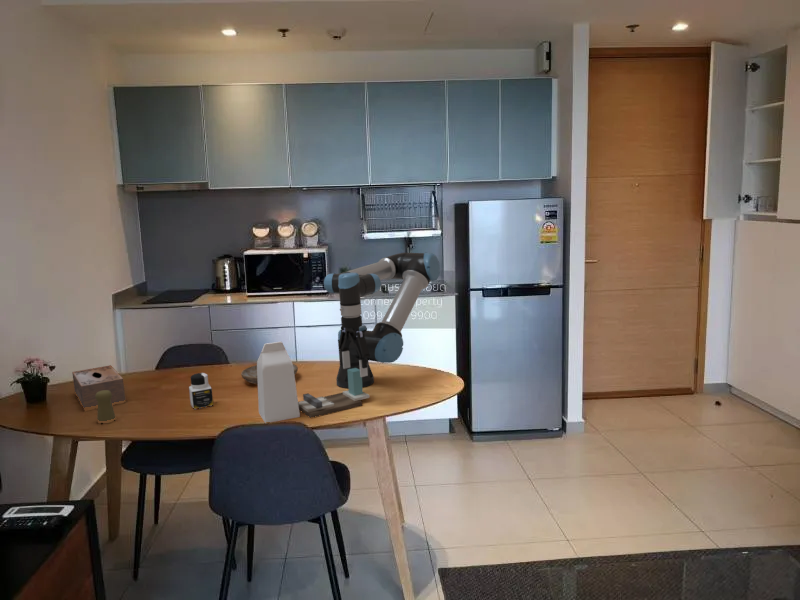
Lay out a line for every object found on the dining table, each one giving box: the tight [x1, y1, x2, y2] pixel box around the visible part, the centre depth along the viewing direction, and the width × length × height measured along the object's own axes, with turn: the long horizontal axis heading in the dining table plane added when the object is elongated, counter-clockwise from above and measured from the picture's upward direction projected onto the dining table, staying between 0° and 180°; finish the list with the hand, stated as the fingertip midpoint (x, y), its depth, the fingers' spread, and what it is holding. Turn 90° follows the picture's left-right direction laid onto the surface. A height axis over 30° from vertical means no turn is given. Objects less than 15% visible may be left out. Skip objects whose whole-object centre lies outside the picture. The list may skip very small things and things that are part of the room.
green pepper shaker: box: [95, 390, 116, 421], centre depth 215 cm, size 6×6×11 cm
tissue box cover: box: [72, 364, 127, 408], centre depth 241 cm, size 26×14×10 cm, turn 35°
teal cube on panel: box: [342, 368, 370, 401], centre depth 225 cm, size 10×6×10 cm, turn 32°
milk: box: [256, 341, 301, 424], centre depth 212 cm, size 12×12×26 cm
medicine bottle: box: [188, 372, 214, 410], centre depth 228 cm, size 7×7×12 cm
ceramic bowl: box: [240, 363, 299, 385], centre depth 256 cm, size 23×24×5 cm
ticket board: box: [298, 392, 363, 419], centre depth 220 cm, size 14×20×4 cm
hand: (355, 372), depth 225 cm, fingers open, 13 cm apart
